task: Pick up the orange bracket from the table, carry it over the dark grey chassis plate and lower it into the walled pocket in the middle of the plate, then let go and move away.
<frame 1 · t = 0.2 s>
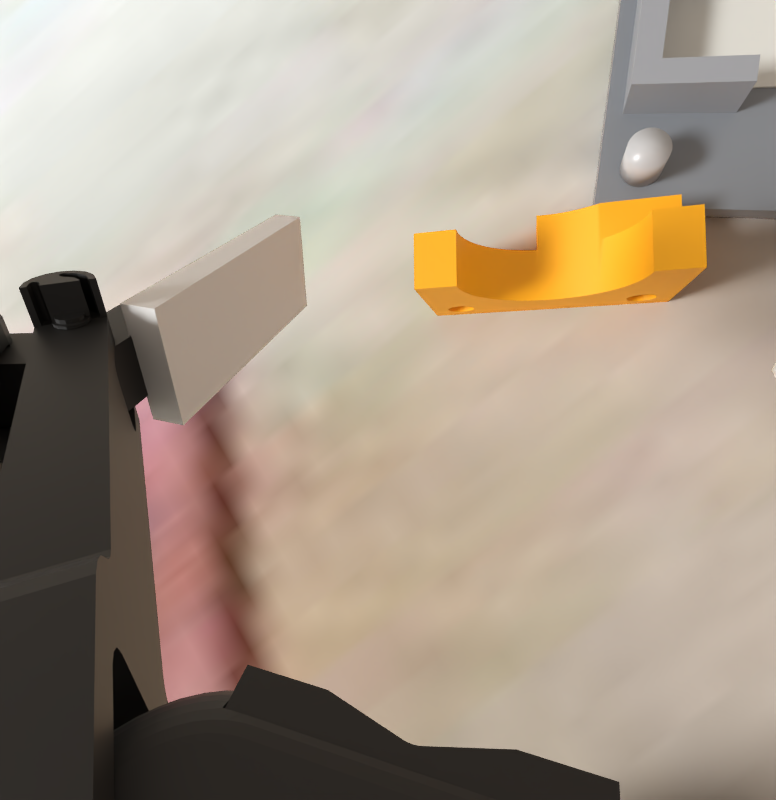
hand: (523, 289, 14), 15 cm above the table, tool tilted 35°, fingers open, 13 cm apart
orange bracket: (545, 271, 30), on the table
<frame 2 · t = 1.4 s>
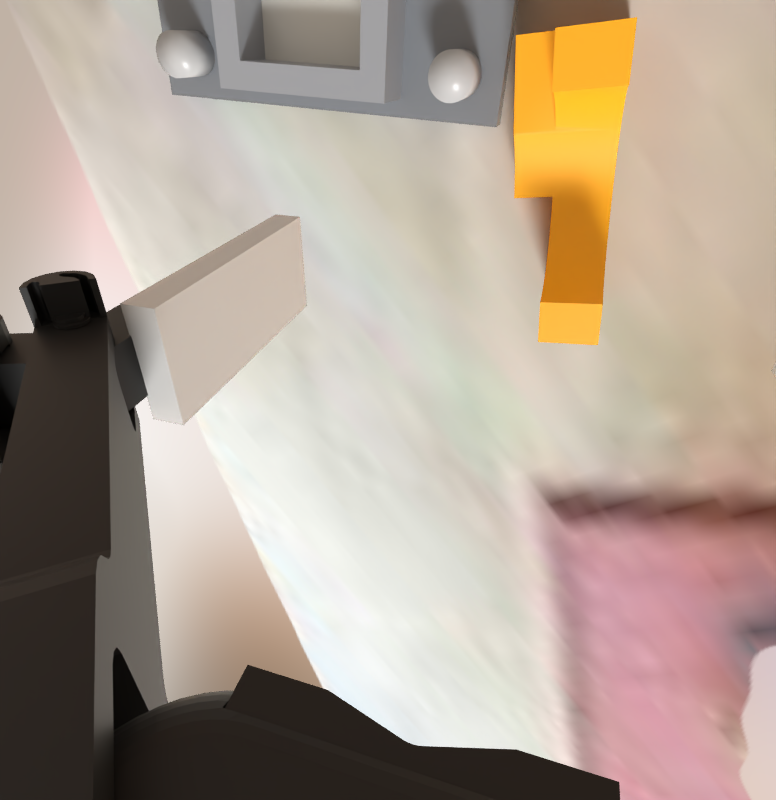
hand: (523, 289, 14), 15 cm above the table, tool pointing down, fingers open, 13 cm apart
orange bracket: (565, 175, 27), on the table
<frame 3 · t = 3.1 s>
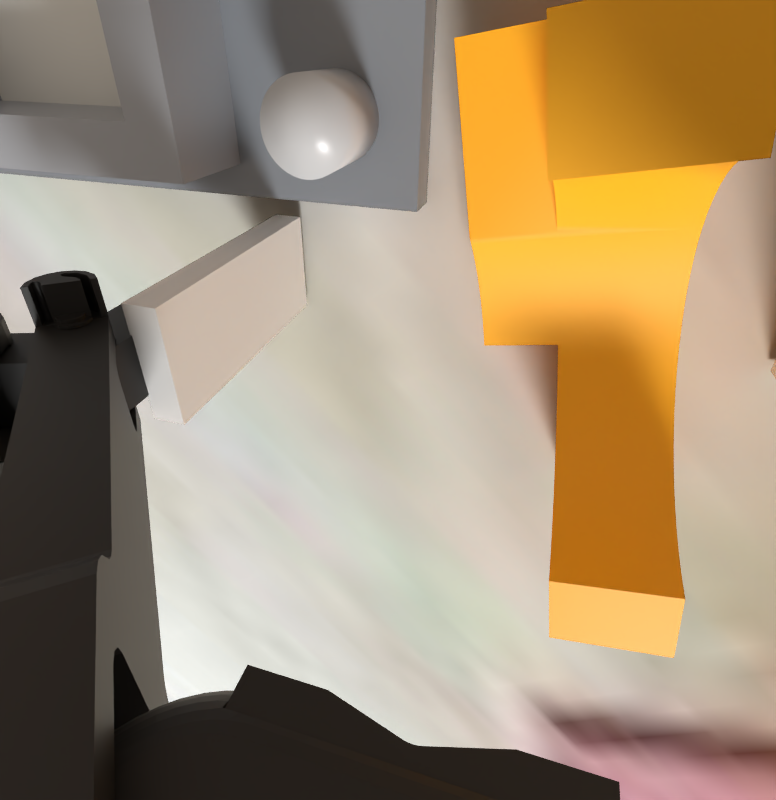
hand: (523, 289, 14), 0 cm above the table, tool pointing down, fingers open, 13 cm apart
orange bracket: (578, 285, 15), on the table
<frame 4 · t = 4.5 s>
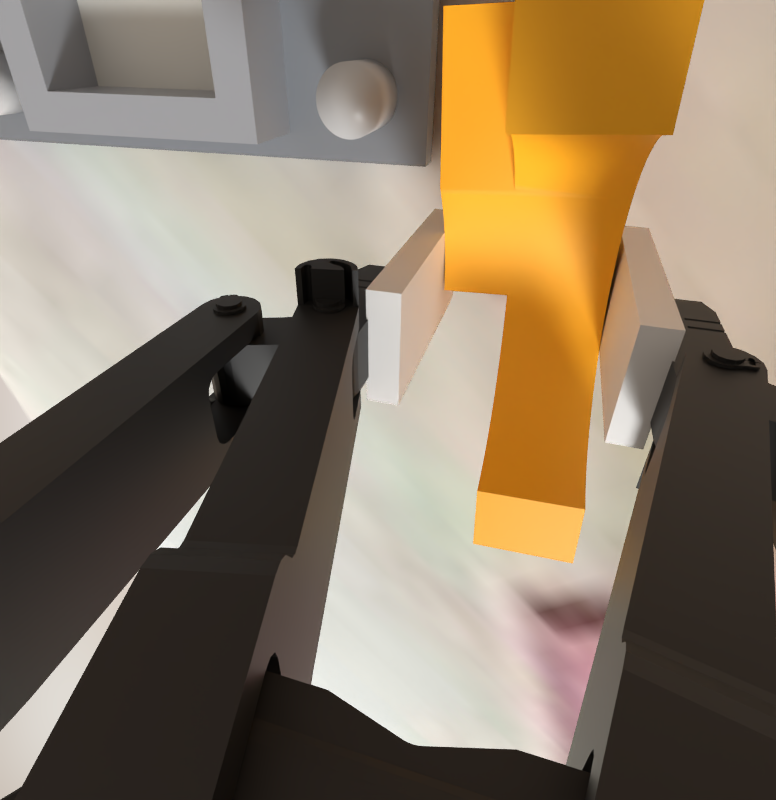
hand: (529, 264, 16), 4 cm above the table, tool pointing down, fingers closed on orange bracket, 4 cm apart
orange bracket: (531, 249, 16), point 3 cm above the table, touching gripper
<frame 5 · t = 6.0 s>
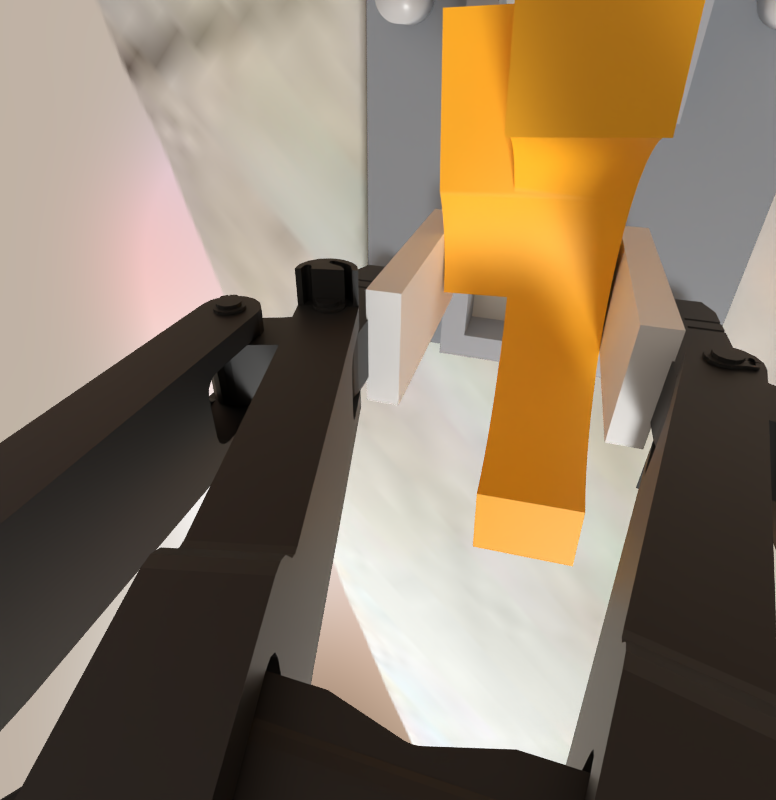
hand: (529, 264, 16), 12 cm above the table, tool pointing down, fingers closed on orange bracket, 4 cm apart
orange bracket: (531, 250, 16), point 11 cm above the table, touching gripper
chassis: (553, 180, 26), on the table
when the fingers open (2 cm above the table, at t = 7.4 s): orange bracket stays where it is, resting on chassis.
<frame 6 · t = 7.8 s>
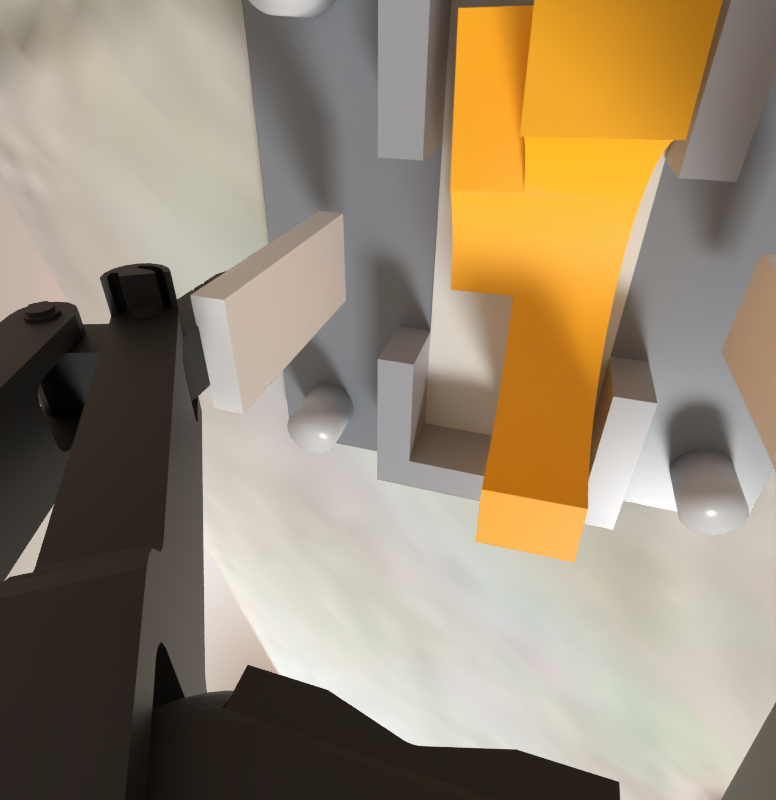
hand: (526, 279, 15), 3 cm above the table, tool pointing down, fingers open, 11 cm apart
orange bracket: (536, 250, 17), point 1 cm above the table, touching chassis
chassis: (533, 247, 17), on the table
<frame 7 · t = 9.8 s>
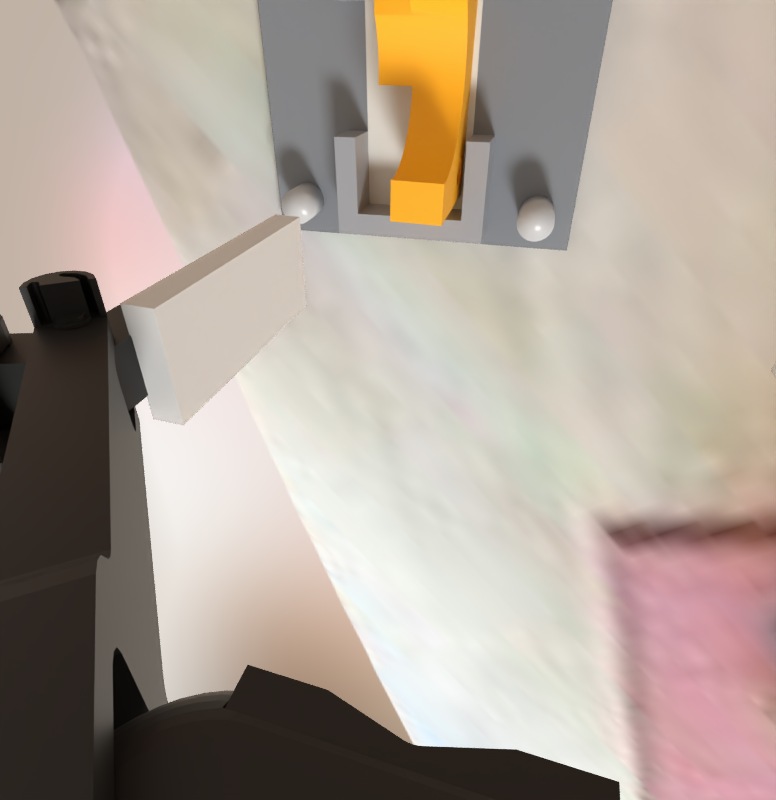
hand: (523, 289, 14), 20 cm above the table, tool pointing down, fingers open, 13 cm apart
orange bracket: (431, 72, 29), point 1 cm above the table, touching chassis
chassis: (424, 69, 29), on the table
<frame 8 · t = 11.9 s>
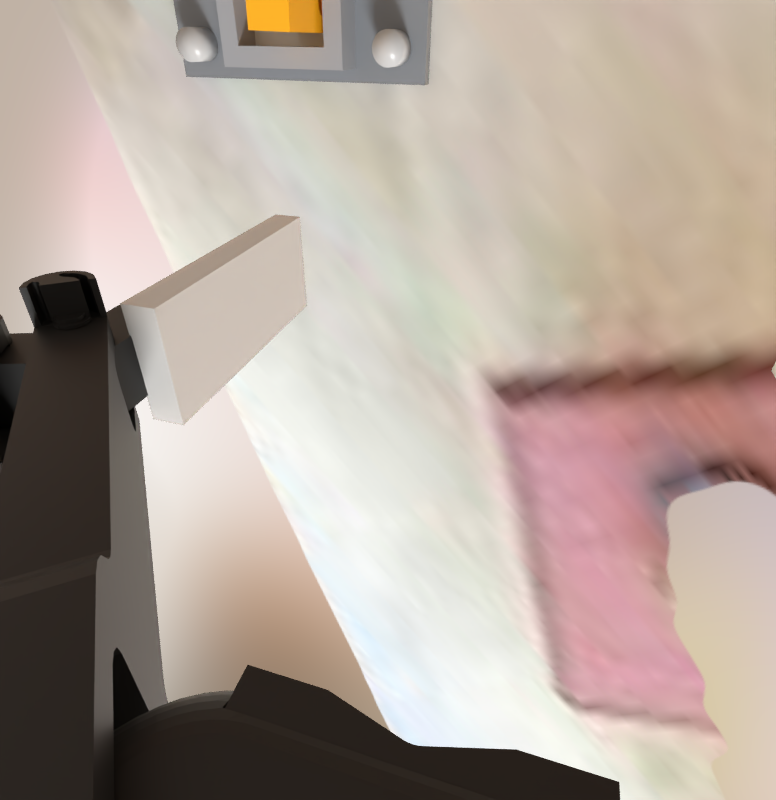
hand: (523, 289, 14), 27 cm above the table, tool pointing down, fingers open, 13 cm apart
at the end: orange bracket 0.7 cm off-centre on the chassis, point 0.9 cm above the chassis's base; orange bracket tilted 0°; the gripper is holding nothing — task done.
